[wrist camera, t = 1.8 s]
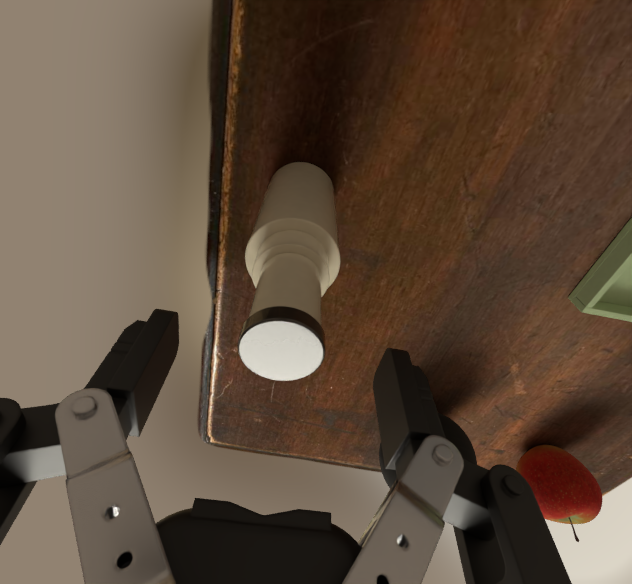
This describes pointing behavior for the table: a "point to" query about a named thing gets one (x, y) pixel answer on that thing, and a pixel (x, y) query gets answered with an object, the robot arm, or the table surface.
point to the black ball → (451, 434)
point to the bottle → (290, 274)
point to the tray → (609, 281)
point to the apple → (561, 485)
